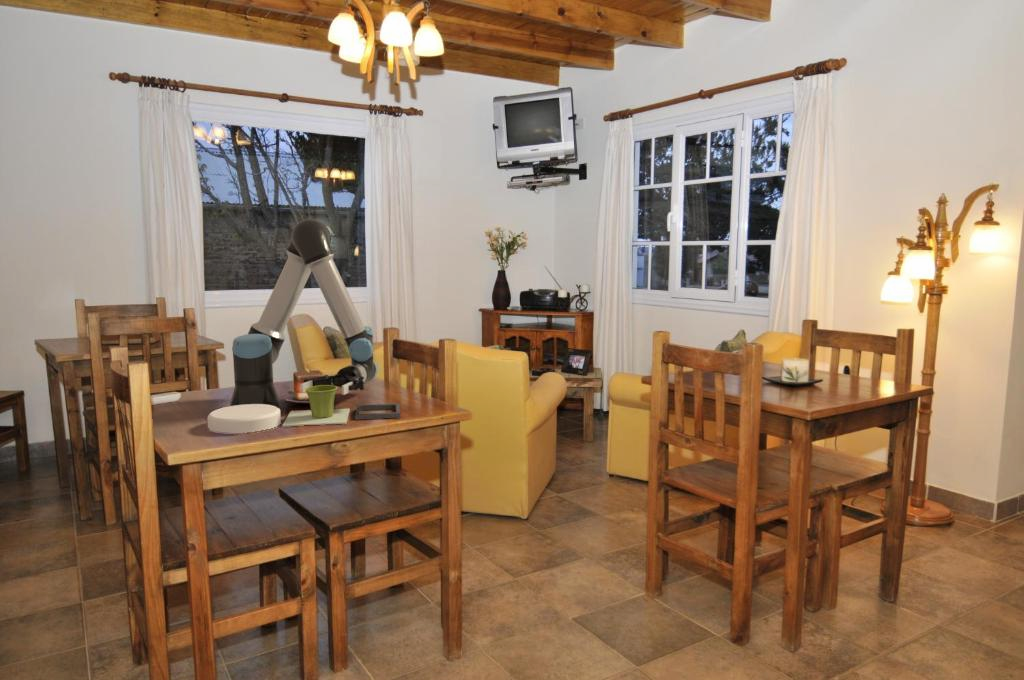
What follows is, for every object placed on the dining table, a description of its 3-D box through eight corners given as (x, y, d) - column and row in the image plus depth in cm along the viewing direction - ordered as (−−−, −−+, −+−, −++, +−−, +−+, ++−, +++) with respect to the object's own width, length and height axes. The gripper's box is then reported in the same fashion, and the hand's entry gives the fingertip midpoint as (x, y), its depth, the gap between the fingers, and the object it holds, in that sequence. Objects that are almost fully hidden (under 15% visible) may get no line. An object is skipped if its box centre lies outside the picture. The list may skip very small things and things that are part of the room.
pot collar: (355, 420, 214) (354, 415, 214) (357, 409, 227) (356, 405, 227) (400, 418, 217) (400, 413, 216) (399, 408, 230) (399, 403, 229)
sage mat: (282, 427, 206) (282, 425, 206) (290, 412, 224) (290, 410, 224) (346, 424, 209) (346, 422, 209) (349, 410, 227) (349, 408, 227)
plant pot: (327, 420, 211) (326, 392, 210) (300, 418, 214) (298, 390, 213) (344, 413, 220) (343, 386, 219) (317, 411, 223) (316, 384, 221)
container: (293, 426, 208) (292, 410, 208) (224, 439, 194) (223, 423, 194) (263, 415, 223) (262, 400, 222) (197, 426, 209) (196, 410, 208)
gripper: (386, 389, 237) (360, 403, 216) (316, 386, 242) (285, 400, 221) (386, 366, 236) (360, 378, 215) (316, 364, 241) (284, 376, 220)
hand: (322, 389), depth 218 cm, fingers open, 13 cm apart
